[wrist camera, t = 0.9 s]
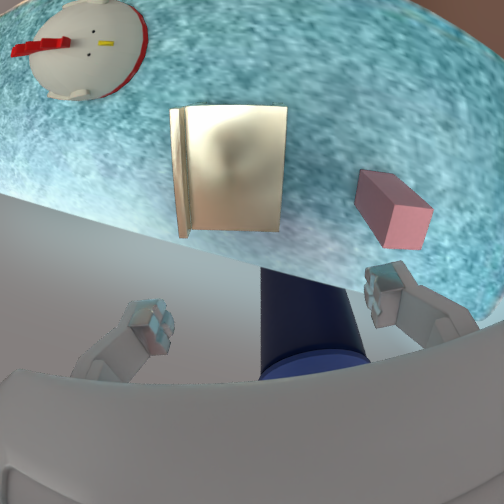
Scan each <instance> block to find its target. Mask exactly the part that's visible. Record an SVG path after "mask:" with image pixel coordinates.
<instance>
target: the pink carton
mask: <svg viewBox="0 0 504 504" xmlns="http://www.w3.org/2000/svg"><path fill="white" fill-rule="evenodd" d="M354 205H355V206H356V208H357V209H358V211H359V212H360V214H361V215H362V217H363V218H364V220H365V221H366V223H367V224H368V226H369V227H370V229H371V230H372V232H373V233H374V235H375V236H376V238H377V240H378V241H379V243H380V244H381V246H382V248H388V249H410V250H421V248H422V245H423V242H424V239H425V236H426V233H427V230H428V227H429V224H430V220H431V217H432V214H433V210H434V209H433V208H432V207H431V206H430V205H429V204H428V203H426V202H425V201H424V200H423V199H422V198H421V197H420V196H419V195H418V194H416V193H415V192H414V191H413V190H412V189H411V188H409V187H408V186H407V185H406V184H405V183H404V182H402V181H401V180H400V179H399V178H398V177H396V176H395V175H394V174H390V173H383V172H376V171H368V170H360V174H359V180H358V186H357V191H356V197H355V202H354Z"/></svg>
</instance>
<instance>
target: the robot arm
mask: <svg viewBox="0 0 504 504" xmlns="http://www.w3.org/2000/svg"><path fill="white" fill-rule="evenodd" d="M365 278H366V280H367V282H366V284H365V285H364V294H365V301H366V304H367V307H368V308H369V309H370V310H372V312H371V317H372V320H373V323H374V325H375V328H382V327H387V326H391V325H396V326H397V327H398V328H400V329H401V330H402V331H403V332H405V333H406V334H407V335H408V336H409V337H411V338H412V339H413V340H414V341H416V342H417V343H418V344H419V345H421V346H422V347H423V348H424V349H422V350H419V351H416V352H412V353H408V354H405V355H401V356H397V357H393V358H389V359H385V360H382V361H377V362H372V363H368V364H363V365H359V366H354V367H349V368H344V369H339V370H333V371H327V372H321V373H315V374H309V375H302V376H295V377H287V378H279V379H270V380H260V381H250V382H249V381H248V382H235V383H218V384H137V383H129V381H130V380H131V379H132V378H133V377H134V375H135V374H136V373H137V372H138V371H139V370H140V368H141V367H142V366H143V365H144V364H145V362H146V361H147V360H148V358H150V356H155V355H168V351H169V347H170V344H171V342H170V340H169V338H170V337H171V336H172V335H173V333H174V320H173V317H172V315H171V313H170V312H168V311H167V310H165V309H166V306H167V305H166V303H165V302H164V300H163V299H160V298H159V299H148V300H139V301H131V302H129V303H128V306H127V308H126V310H125V312H124V314H123V316H122V318H121V320H120V322H119V324H118V327H117V328H113V329H112V330H111V331H110V332H109V333H107V334H106V335H105V336H104V337H103V338H101V339H100V340H99V341H98V342H97V343H96V344H94V345H93V346H92V347H91V348H90V349H89V350H87V351H86V352H85V353H84V354H83V355H82V356H80V357H79V359H78V361H77V363H76V365H75V367H74V369H73V371H72V374H71V376H70V377H63V376H57V375H50V374H45V373H39V372H33V371H29V370H23V369H18V370H15V371H14V372H12V373H11V374H10V375H9V376H8V377H7V378H5V379H4V380H3V381H2V382H1V384H0V504H504V320H503V321H500V322H498V323H496V324H493V325H491V326H488V327H486V328H484V329H481V330H480V329H479V327H478V325H477V324H476V322H475V320H474V319H473V317H472V316H471V314H470V312H469V311H468V309H466V308H465V307H463V306H461V305H459V304H457V303H455V302H453V301H451V300H450V299H448V298H446V297H444V296H442V295H440V294H438V293H436V292H434V291H432V290H430V289H429V288H427V287H425V286H423V285H419V286H418V284H417V283H416V281H415V279H414V278H413V276H412V275H411V273H410V272H409V270H408V269H407V267H406V266H405V264H404V263H403V261H401V260H400V261H396V262H391V263H388V264H383V265H378V266H373V267H367V268H366V269H365Z"/></svg>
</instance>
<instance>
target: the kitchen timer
mask: <svg viewBox="0 0 504 504" xmlns="http://www.w3.org/2000/svg"><path fill="white" fill-rule="evenodd" d="M62 8H63V10H61V11H60V12H59V13H57V14H56V15H54V16H53V17H51V18H50V19H49V20H48V21H47V22H46V23H45V24H44V25H43V26H42V27H41V28H40V30H39V31H38V33H37V34H36V36H35V38H34V39H33V41H29V42H26V44H17V45H15V47H13V49H12V52H11V57H18V56H25V55H29V61H30V67H31V70H32V73H33V75H34V77H35V78H36V79H37V81H38V82H39V83H40V84H41V85H42V86H43V87H44V88H45V89H47V90H49V93H48V95H47V97H50V98H54V99H60V100H72V101H82V100H91V99H97V98H102V97H106V96H108V95H110V94H112V93H114V92H117V91H118V90H119V89H120V88H122V87H123V86H124V85H125V84H127V83H128V82H129V81H130V80H131V78H132V77H133V76H134V74H135V73H136V72H137V71H138V69H139V67H140V65H141V63H142V61H143V59H144V57H145V54H146V49H147V44H148V32H147V26H146V23H145V21H144V19H143V17H142V15H141V14H140V13H139V12H138V11H137V10H136V9H135V8H134V7H132V6H129V5H127V4H125V3H122V2H120V1H117V0H78V1H74V2H70V3H67V4H65V5H63V6H62Z"/></svg>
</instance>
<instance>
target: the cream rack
mask: <svg viewBox="0 0 504 504" xmlns="http://www.w3.org/2000/svg"><path fill="white" fill-rule="evenodd" d="M287 111H288V107H287V106H286V105H284V104H283V103H274V102H273V103H272V105H256V104H207V102H196V103H193V104H190V105H187V106H185V112H184V106H180V107H173V108H170V109H169V113H170V136H171V153H172V168H173V181H174V192H175V203H176V213H177V222H178V231H179V238H188V236H189V234H190V231H191V228H192V230H230V231H261V232H279V226H280V214H281V201H282V188H283V174H284V160H285V144H286V128H287ZM185 131H186V142H185ZM186 155H187V163H186ZM187 174H188V180H187ZM188 190H189V195H188ZM189 204H190V208H189ZM190 216H191V221H190Z"/></svg>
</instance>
